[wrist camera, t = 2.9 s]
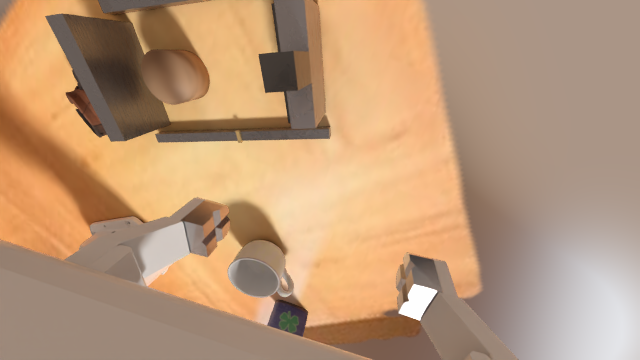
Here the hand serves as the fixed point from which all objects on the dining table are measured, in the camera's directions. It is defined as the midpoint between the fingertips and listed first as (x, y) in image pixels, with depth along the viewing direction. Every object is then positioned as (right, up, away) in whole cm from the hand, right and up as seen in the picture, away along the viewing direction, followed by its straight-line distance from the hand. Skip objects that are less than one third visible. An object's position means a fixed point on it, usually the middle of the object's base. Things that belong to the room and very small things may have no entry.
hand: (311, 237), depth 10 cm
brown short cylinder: (-20, +19, +26) cm, 38 cm away
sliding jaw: (-1, +19, +22) cm, 29 cm away
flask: (-7, -31, +51) cm, 60 cm away
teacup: (-10, -14, +42) cm, 46 cm away
